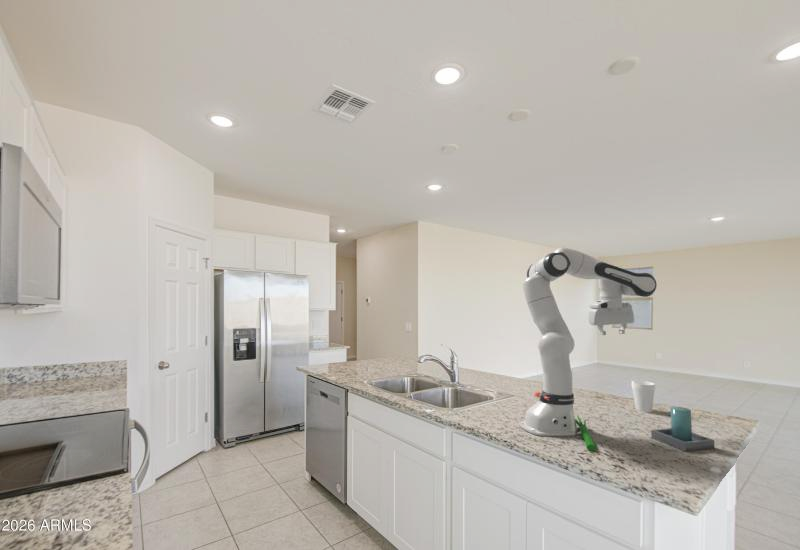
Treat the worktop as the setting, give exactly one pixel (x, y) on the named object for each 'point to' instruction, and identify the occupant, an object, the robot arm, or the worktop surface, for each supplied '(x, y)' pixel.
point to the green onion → (585, 434)
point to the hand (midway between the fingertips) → (612, 334)
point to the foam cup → (643, 395)
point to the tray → (694, 445)
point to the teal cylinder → (681, 423)
